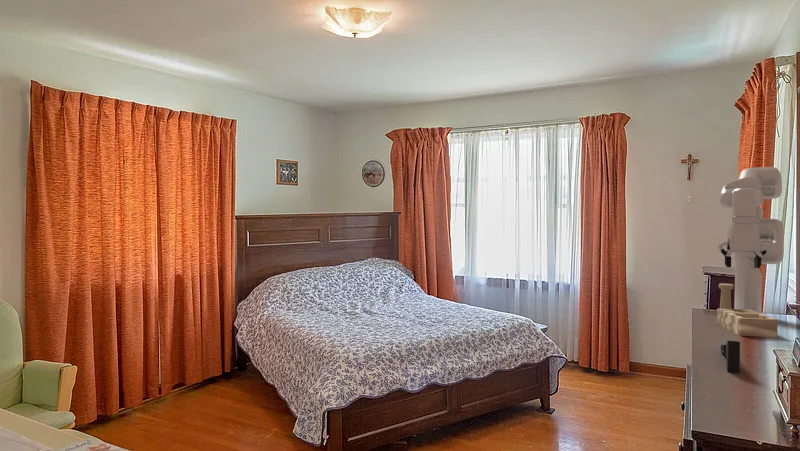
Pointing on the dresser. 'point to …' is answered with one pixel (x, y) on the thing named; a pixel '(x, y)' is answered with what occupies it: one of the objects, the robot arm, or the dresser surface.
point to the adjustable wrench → (732, 355)
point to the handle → (725, 295)
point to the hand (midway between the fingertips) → (742, 267)
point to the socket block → (747, 322)
